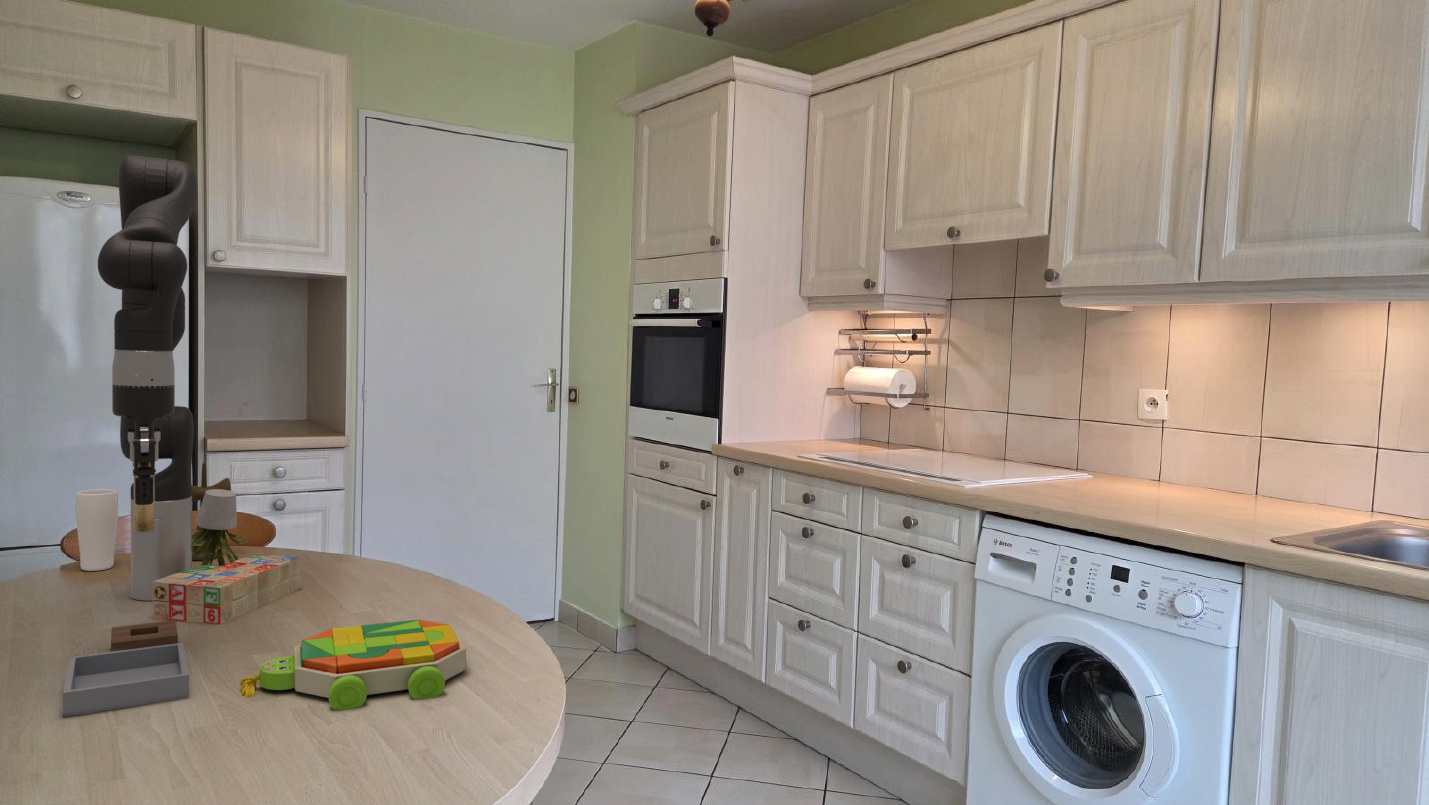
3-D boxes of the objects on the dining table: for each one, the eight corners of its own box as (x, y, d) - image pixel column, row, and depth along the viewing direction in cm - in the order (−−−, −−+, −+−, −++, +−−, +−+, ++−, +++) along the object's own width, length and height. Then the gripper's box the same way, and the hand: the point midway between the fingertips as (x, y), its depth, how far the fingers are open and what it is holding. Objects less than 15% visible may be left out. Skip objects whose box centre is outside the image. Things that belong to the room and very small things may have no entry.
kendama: (231, 560, 185) (232, 463, 184) (177, 565, 180) (177, 465, 179) (229, 554, 190) (229, 459, 189) (175, 558, 185) (175, 461, 184)
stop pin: (133, 529, 131) (133, 446, 130) (154, 527, 132) (154, 446, 131) (133, 532, 129) (133, 448, 128) (154, 531, 130) (154, 448, 129)
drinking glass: (89, 564, 178) (88, 488, 177) (125, 564, 179) (125, 489, 178) (67, 572, 172) (67, 494, 171) (105, 573, 172) (105, 495, 171)
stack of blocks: (301, 590, 165) (240, 585, 167) (301, 556, 165) (240, 552, 167) (219, 625, 144) (150, 619, 146) (219, 587, 144) (150, 581, 146)
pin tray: (69, 679, 120) (69, 657, 120) (183, 663, 127) (183, 642, 127) (63, 717, 108) (63, 693, 108) (188, 698, 115) (188, 674, 115)
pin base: (111, 647, 133) (111, 627, 132) (175, 639, 137) (175, 620, 137) (110, 664, 126) (110, 643, 126) (177, 655, 130) (177, 635, 130)
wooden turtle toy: (243, 668, 127) (243, 629, 127) (448, 646, 139) (449, 611, 139) (235, 729, 108) (235, 684, 107) (474, 698, 120) (475, 657, 119)
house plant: (265, 507, 169) (253, 591, 171) (272, 488, 182) (260, 566, 183) (178, 500, 164) (166, 586, 165) (191, 481, 176) (180, 561, 178)
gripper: (176, 385, 125) (176, 509, 126) (172, 379, 137) (172, 493, 138) (111, 384, 121) (112, 513, 122) (113, 379, 133) (113, 496, 134)
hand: (144, 502), depth 130 cm, fingers closed on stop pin, 2 cm apart
